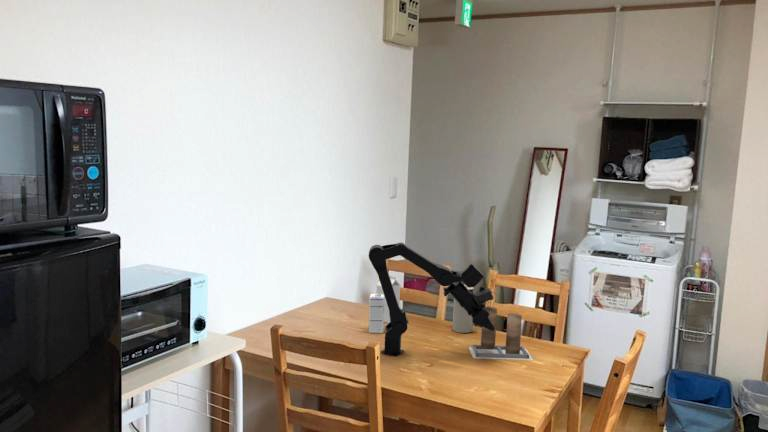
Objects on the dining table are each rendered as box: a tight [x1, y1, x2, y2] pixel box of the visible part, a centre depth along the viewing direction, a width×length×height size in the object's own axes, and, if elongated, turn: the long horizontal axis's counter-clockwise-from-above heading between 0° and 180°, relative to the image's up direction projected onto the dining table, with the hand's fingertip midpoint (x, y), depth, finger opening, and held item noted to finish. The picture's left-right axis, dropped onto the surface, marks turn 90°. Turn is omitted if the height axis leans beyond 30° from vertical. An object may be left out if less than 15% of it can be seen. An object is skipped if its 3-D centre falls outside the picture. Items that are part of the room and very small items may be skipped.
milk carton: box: [375, 275, 401, 324], centre depth 267 cm, size 7×7×19 cm
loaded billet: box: [505, 313, 523, 354], centre depth 226 cm, size 5×5×14 cm
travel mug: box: [452, 284, 475, 334], centre depth 255 cm, size 8×8×18 cm
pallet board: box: [468, 344, 534, 361], centre depth 227 cm, size 21×12×2 cm, turn 90°
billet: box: [480, 306, 498, 349], centre depth 226 cm, size 5×5×14 cm
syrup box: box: [368, 293, 385, 334], centre depth 251 cm, size 6×6×14 cm
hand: (492, 327), depth 226 cm, fingers closed on billet, 5 cm apart
